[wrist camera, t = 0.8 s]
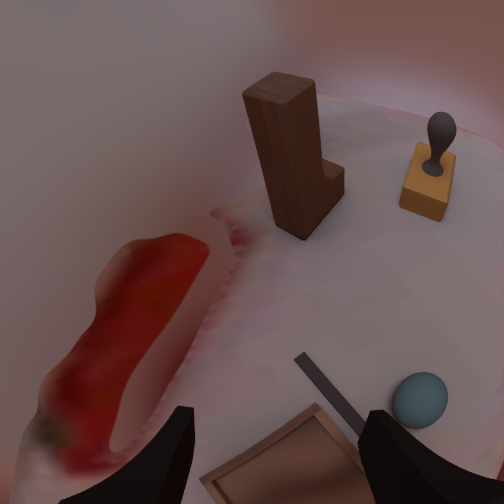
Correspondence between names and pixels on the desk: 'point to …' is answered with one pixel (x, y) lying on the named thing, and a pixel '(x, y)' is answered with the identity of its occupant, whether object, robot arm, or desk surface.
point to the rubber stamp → (431, 170)
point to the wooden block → (292, 151)
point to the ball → (420, 400)
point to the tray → (294, 468)
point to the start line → (331, 393)
